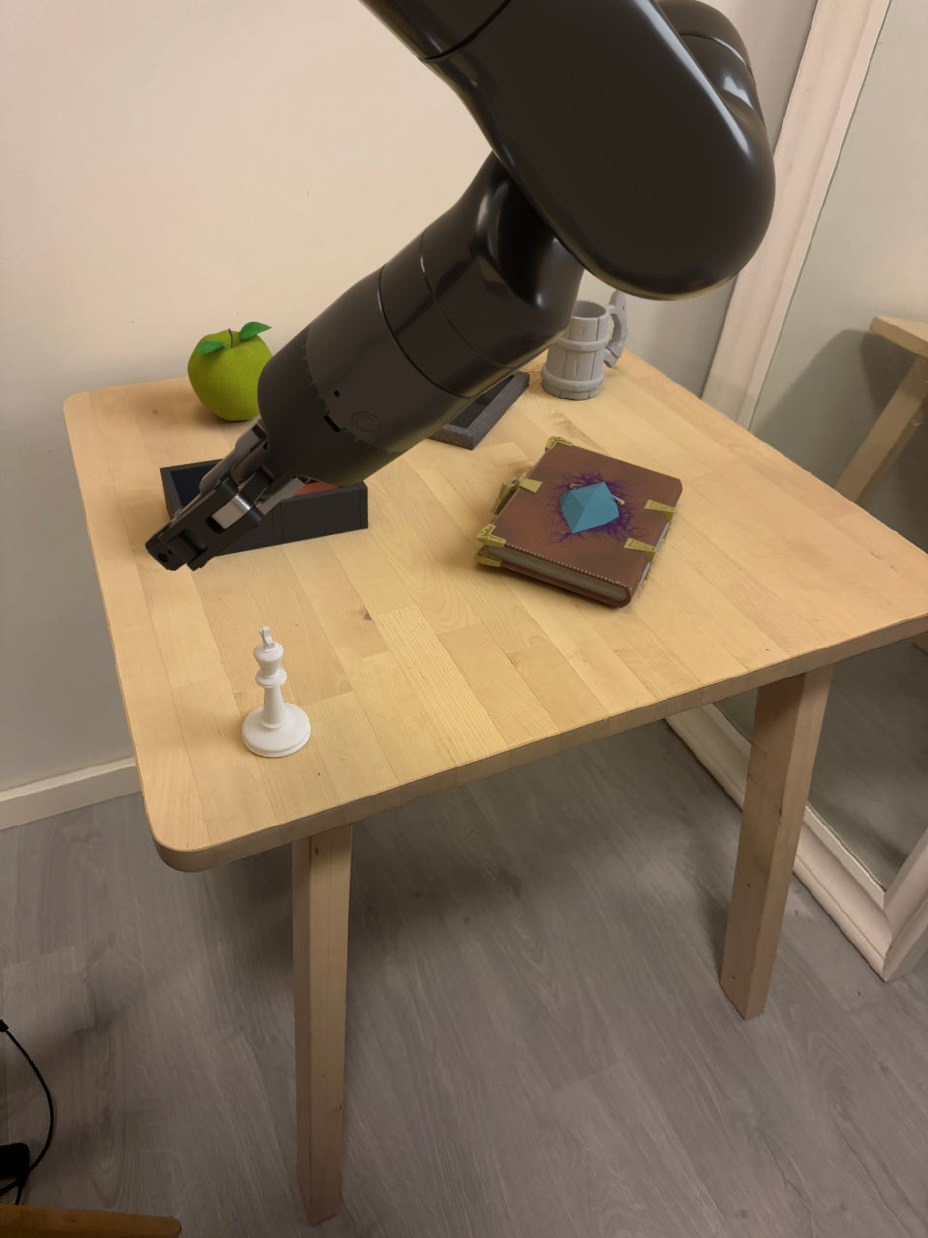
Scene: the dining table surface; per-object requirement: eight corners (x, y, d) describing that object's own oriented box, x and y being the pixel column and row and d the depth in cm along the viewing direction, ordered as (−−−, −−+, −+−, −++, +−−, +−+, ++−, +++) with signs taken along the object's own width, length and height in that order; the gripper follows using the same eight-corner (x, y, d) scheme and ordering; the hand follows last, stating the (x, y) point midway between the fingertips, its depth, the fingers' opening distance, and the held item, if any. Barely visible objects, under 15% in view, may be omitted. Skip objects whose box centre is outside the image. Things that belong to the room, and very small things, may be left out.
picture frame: (430, 361, 115) (364, 420, 102) (431, 346, 114) (364, 404, 101) (528, 385, 111) (472, 449, 98) (530, 370, 110) (474, 433, 97)
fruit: (297, 418, 101) (291, 332, 95) (223, 443, 96) (212, 353, 90) (252, 388, 106) (244, 304, 100) (180, 409, 101) (167, 322, 95)
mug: (527, 381, 112) (538, 284, 104) (597, 361, 118) (613, 268, 110) (567, 406, 108) (582, 307, 100) (638, 385, 113) (657, 290, 106)
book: (688, 490, 96) (702, 449, 93) (626, 624, 79) (640, 580, 75) (545, 444, 100) (553, 403, 97) (456, 563, 82) (462, 518, 79)
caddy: (183, 562, 80) (176, 520, 77) (166, 508, 86) (159, 467, 83) (368, 527, 86) (368, 487, 83) (339, 479, 92) (338, 440, 89)
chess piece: (296, 699, 68) (288, 596, 62) (321, 743, 65) (315, 640, 59) (232, 720, 66) (217, 616, 60) (255, 767, 63) (241, 662, 57)
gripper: (378, 255, 47) (214, 404, 57) (245, 387, 37) (75, 538, 47) (470, 369, 49) (297, 491, 60) (368, 520, 40) (183, 635, 50)
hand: (199, 512), depth 54 cm, fingers open, 8 cm apart
